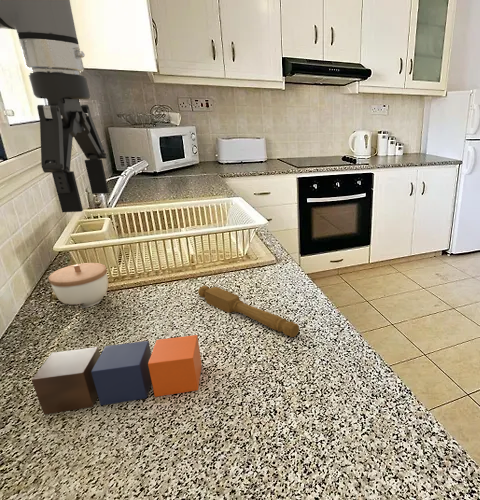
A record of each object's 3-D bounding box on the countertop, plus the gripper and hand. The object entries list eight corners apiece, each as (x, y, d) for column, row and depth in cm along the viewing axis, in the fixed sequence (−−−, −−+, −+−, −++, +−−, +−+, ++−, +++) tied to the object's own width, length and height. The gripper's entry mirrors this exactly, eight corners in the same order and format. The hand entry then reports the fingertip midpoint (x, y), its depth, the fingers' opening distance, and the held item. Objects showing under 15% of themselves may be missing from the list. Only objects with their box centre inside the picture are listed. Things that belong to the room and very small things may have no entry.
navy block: (100, 405, 58) (90, 371, 55) (113, 377, 63) (105, 345, 61) (146, 398, 59) (139, 364, 57) (155, 371, 65) (148, 340, 63)
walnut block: (43, 414, 56) (31, 379, 53) (62, 385, 62) (51, 352, 59) (93, 406, 57) (83, 372, 55) (106, 378, 63) (98, 346, 61)
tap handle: (290, 328, 73) (194, 286, 88) (290, 341, 74) (196, 298, 90) (300, 321, 76) (205, 282, 91) (300, 333, 77) (207, 293, 92)
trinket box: (46, 307, 84) (34, 269, 80) (92, 288, 93) (83, 253, 90) (78, 318, 80) (67, 279, 77) (123, 296, 89) (115, 260, 86)
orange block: (154, 397, 60) (147, 363, 57) (162, 370, 65) (156, 339, 63) (198, 390, 61) (193, 357, 59) (201, 365, 67) (197, 334, 65)
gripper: (48, 67, 50) (85, 219, 58) (108, 78, 72) (129, 186, 80) (-20, 64, 48) (28, 222, 56) (63, 76, 70) (89, 187, 78)
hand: (88, 201), depth 68 cm, fingers open, 13 cm apart
